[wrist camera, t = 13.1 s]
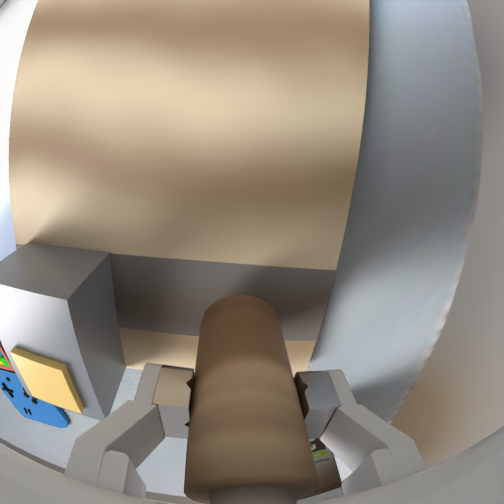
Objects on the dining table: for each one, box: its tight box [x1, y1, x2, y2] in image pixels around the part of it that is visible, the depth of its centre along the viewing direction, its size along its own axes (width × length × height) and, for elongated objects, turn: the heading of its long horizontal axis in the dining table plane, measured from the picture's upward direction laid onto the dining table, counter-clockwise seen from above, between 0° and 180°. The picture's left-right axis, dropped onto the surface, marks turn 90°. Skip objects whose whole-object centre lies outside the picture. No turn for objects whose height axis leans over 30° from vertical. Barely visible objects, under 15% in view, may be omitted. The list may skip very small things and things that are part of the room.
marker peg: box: [184, 295, 319, 504], centre depth 7 cm, size 3×3×8 cm
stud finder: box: [0, 242, 126, 421], centre depth 10 cm, size 7×5×4 cm
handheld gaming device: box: [0, 341, 69, 428], centre depth 15 cm, size 8×1×15 cm
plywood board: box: [9, 0, 369, 377], centre depth 10 cm, size 22×16×1 cm
